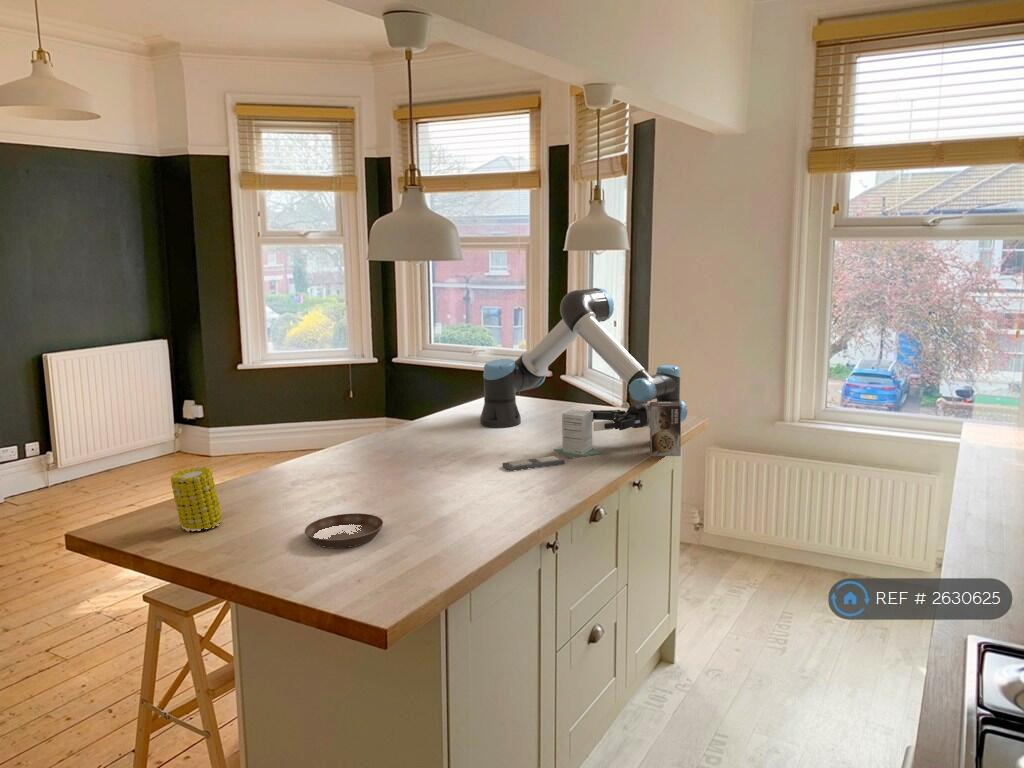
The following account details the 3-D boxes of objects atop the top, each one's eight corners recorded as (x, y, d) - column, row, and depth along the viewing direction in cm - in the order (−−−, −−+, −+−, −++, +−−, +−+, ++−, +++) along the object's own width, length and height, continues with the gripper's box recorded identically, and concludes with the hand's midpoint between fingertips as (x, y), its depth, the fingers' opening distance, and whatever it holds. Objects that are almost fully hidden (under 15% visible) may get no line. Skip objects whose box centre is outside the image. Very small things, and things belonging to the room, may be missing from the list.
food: (222, 536, 187) (177, 543, 185) (224, 510, 197) (181, 516, 195) (212, 480, 181) (165, 487, 178) (215, 457, 191) (170, 463, 189)
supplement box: (572, 447, 254) (572, 409, 252) (593, 449, 250) (592, 411, 248) (561, 452, 248) (561, 413, 246) (582, 455, 244) (582, 415, 242)
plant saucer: (291, 538, 181) (290, 526, 180) (356, 519, 193) (355, 507, 192) (332, 559, 168) (331, 545, 168) (399, 536, 181) (398, 524, 180)
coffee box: (678, 451, 248) (679, 401, 245) (680, 456, 242) (681, 405, 239) (649, 451, 249) (649, 401, 246) (650, 456, 243) (651, 405, 240)
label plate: (502, 466, 235) (502, 462, 234) (556, 459, 241) (556, 454, 241) (509, 471, 230) (509, 466, 229) (564, 463, 236) (564, 459, 236)
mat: (554, 450, 252) (554, 449, 252) (584, 446, 256) (584, 445, 256) (569, 458, 242) (569, 457, 242) (601, 454, 246) (601, 453, 246)
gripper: (663, 435, 245) (602, 442, 237) (623, 419, 268) (567, 426, 260) (663, 411, 244) (602, 418, 236) (623, 398, 266) (566, 403, 259)
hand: (584, 422), depth 248 cm, fingers open, 13 cm apart
